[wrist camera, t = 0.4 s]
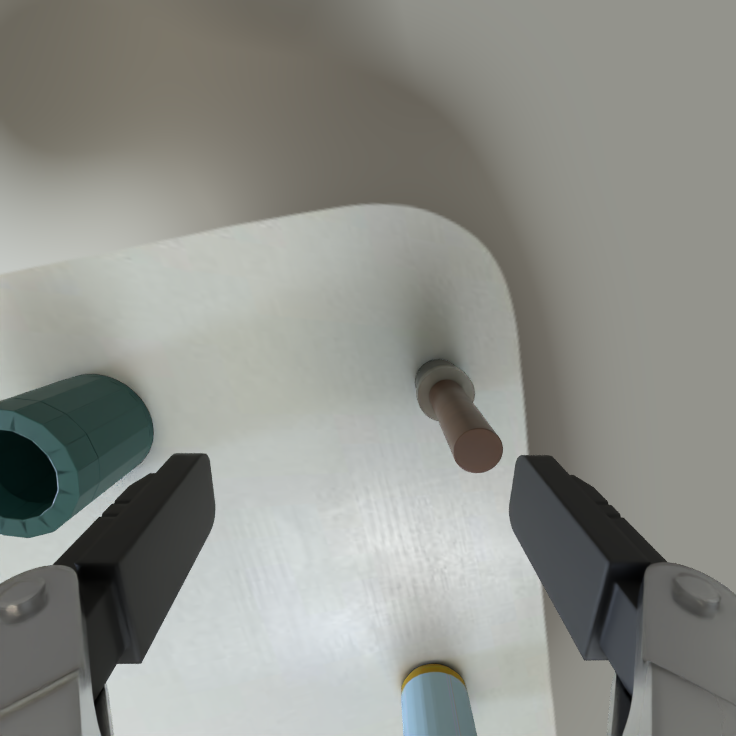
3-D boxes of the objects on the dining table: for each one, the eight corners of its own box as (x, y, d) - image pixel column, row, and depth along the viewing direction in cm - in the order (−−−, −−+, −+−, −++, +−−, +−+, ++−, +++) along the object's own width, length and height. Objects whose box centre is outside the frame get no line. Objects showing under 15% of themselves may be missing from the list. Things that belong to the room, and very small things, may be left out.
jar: (42, 367, 34) (-76, 400, 25) (152, 381, 34) (73, 418, 25) (51, 467, 36) (-54, 529, 27) (154, 479, 36) (82, 544, 27)
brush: (416, 354, 32) (443, 407, 19) (467, 360, 32) (528, 417, 19) (409, 402, 34) (430, 483, 20) (458, 408, 34) (510, 493, 20)
